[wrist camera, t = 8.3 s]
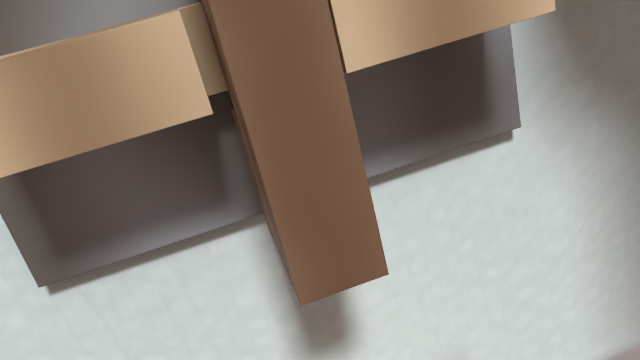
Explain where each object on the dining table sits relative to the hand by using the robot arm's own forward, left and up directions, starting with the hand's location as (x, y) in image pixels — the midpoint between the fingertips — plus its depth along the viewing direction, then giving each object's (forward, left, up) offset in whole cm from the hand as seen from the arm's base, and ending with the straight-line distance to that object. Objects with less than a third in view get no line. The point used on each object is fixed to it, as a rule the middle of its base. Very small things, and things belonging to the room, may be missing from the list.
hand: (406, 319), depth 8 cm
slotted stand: (0, -4, -12) cm, 12 cm away
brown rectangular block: (0, -3, -11) cm, 12 cm away
